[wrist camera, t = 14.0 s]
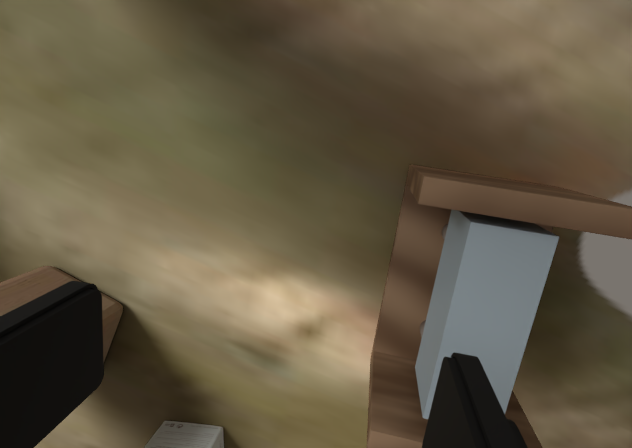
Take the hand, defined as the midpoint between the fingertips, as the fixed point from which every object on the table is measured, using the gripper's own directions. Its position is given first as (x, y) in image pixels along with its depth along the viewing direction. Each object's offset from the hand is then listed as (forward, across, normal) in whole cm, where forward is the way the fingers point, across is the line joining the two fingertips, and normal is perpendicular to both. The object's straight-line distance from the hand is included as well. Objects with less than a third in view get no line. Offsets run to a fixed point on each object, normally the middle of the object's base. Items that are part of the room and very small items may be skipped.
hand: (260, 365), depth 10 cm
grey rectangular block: (+20, -11, +5) cm, 24 cm away
